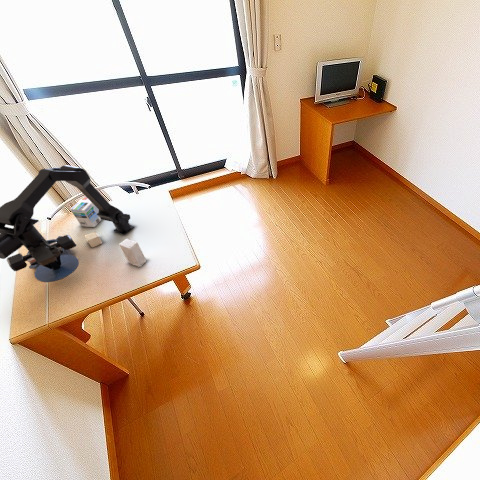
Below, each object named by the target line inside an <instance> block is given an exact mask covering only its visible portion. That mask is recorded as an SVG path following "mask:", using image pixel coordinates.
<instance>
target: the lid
mask: <svg viewBox="0 0 480 480" xmlns="http://www.w3.org/2000/svg"><path fill="white" fill-rule="evenodd" d="M60 260H61V265H60V264H59V263H58V262H57V260H56V261H54V262H51V263H48V264H49V266H50V267H51V268H52V269H49V268H47V267H44V266H41V265H39V266H38V268H37V269H34V270H35V271H34V274H33V275H34V276H33V277H34V278H35V279H36V280H37V281H38V282H41V283H53V282H57V281H60V280H63V279H65V278H68V277H69V276H71V275H72V274H73V273H74V272H75V271H76V270H77V269H78V267H79V264H80V261H79V259H78V257H76V256H75V255H74V254H73V255H60Z"/></svg>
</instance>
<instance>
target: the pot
mask: <svg viewBox="0 0 480 480" xmlns="http://www.w3.org/2000/svg"><path fill="white" fill-rule="evenodd" d="M60 237H62V235H59V236H57V238H60ZM57 238H52V239H45V240H46V241H47V242H48V243H49V244H51V243H54V242H57V243H58V240H57ZM61 248H62V247H61ZM62 250H63V251H64V253H62V254H61V255H73V256H74V253H73V251H72V249H69V250H64V249H63V248H62ZM27 254H29V251H28V250H27V253H26V255H27ZM38 266H39V265H38V264H37V265H34V266H32V265H31V264H30V265H29V266H28V269H31V270H36V269H37V268H38Z"/></svg>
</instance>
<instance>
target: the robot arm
mask: <svg viewBox="0 0 480 480" xmlns="http://www.w3.org/2000/svg"><path fill="white" fill-rule="evenodd" d="M56 182H66V183H67V184H69V185H71V186H73V187H75V188H77V190H78V191H80V192H81V193H82V194H83V195H84V197H87V198H88V199H89V200H90V201H91V202H92V203H93V204H94V205H95V206H96V207H97V208H98V209H99V213H98V214H97V215H98V216H99V217H100V218H101V221H106V222H112V224H113V226H114V227H115V228H114V229H113V232H115V233H118V234H120V235H123V236H125V235H126V234H128V233H129V232H131V230H133V229H134V228H135V226H134V225H131V224H130V220H131V215H130V214H128V213H124V212H123V211H122V210H120V209H119V208H118V207H116V206H113V205H112V204H111V203H109V201H108V200H107V199H106V198H105V197H104V196H103V195H102V194H101V193H100V192H99V190H98V189H97V188H96V187H95V186H94V185H93V184H92V182H91V176H90V175H89V174H88V172H87V170H85V169H84V168H83V167H77V166H72V165H68V164H67V165H66V164H63V165H62V166H60V167H50V168H40V170H39V171H38V174H37V175H36V176H35V177H34V178H33V179H32V181H31V182H30V183H29V184H28V185H27V186H26V187H25V188H24V189H22V191H21V192H20V193H19V194H18V195H17V197H15V198H14V199H12V200H9V201H8V202H5V203H4V204H2V205H1V206H0V259H1V260H5V259H6V262H7V264H8V266H9V267H10V269H11V270H12V271H13V272H18V271H20V270H23V269H25V268H27V267H28V263H29V264H30V265H32V266H34V265H37V264H38V265H41V266H44V267H47V268H49V269H52V268H51V267H50V266H49V264H48V263H51V262H54V261H56V260H57V262H58V263H59V264H60V265H61V260H60V255H61V254H62V253H64V251H63V250H62V248H63V249H64V250H69V249H70V250H72V249H73V248H75V247H77V244H76V242H75V241H74V239H73V238H72V237H71V235H69V234H64V235H63V236H62V235H61V236H62V237H60V238H58V237H56V239H57V240H58V243H57V242H54V243H51V244H49V243H48V242H47V241H46V240H47V239H46V238H45V237H44V236H43V234H42V233H40V231H39V230H38V228H36V226H35V225H36V224H37V223H39V221H40V220H39V219H37V218H33V216H34V209H35V208H36V205H38V203H39V202H40V201H41V200H42V199H43V198H44V196H45V195H46V194H47V193H48V192H49V190H50V189H52V188H53V186H54V185H55V184H56ZM8 226H11V227H8ZM22 247H25V249H26V250H27V252H28V251H29V254H27V253H26V254H25V255H23V254H22V253H20V252H19V253H16V254H14V253H15V252H17V251H18V250H19V249H21V248H22ZM61 247H62V248H61ZM13 254H14V255H13ZM27 262H28V263H27Z"/></svg>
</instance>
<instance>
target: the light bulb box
mask: <svg viewBox="0 0 480 480" xmlns="http://www.w3.org/2000/svg"><path fill="white" fill-rule="evenodd" d="M69 210H70V211H71V213H72V214H73V217H75V219H76V220H77V222H78V223H79V225H80V226H81V227H87V228H96V226H97V225H98V224H99V223H100V222H101V221H102V220H101V218H100V217H99V216H98V215H97V214H98V213H99V209H98V208H97V207H96V206H95V205H94V204H93V203H92V202H91V201H90V200H89V199H88V198H87V197H86V196H83V197H82V198H81V199H79V200H78V202H76V203H75V204H74V205H73V206H71V208H70V209H69Z"/></svg>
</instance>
